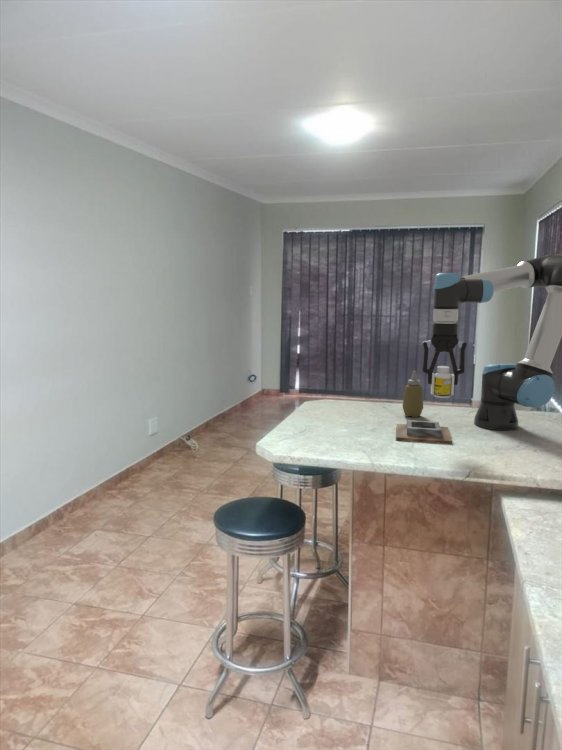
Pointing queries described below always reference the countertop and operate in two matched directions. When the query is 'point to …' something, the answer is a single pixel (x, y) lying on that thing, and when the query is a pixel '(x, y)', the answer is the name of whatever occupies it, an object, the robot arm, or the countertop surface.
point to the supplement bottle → (442, 382)
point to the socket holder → (423, 432)
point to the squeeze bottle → (413, 397)
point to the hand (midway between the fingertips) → (441, 394)
